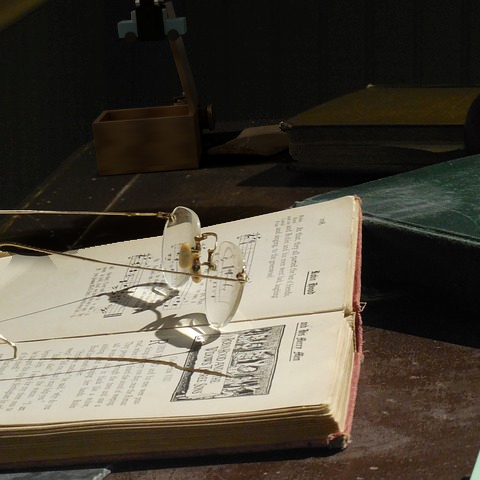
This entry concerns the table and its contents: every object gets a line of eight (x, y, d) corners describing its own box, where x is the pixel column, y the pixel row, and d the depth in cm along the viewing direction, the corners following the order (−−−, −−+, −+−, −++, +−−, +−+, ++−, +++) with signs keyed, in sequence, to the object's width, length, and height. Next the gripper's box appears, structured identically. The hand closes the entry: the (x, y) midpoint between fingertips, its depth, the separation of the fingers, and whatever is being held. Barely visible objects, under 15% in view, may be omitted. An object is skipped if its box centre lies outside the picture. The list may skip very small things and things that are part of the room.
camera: (212, 151, 152) (207, 101, 149) (170, 154, 152) (164, 104, 149) (220, 132, 167) (216, 87, 165) (182, 134, 167) (177, 89, 165)
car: (119, 44, 116) (116, 13, 115) (124, 40, 121) (121, 10, 120) (185, 40, 116) (182, 9, 115) (187, 37, 121) (185, 7, 120)
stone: (309, 143, 153) (307, 123, 152) (252, 163, 140) (251, 141, 139) (253, 140, 158) (252, 121, 157) (194, 159, 146) (192, 138, 145)
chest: (99, 175, 139) (91, 123, 137) (109, 159, 150) (103, 110, 148) (198, 168, 140) (193, 115, 138) (202, 152, 151) (197, 103, 149)
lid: (159, 6, 133) (165, 5, 133) (166, 2, 144) (171, 1, 144) (190, 113, 138) (195, 111, 138) (194, 101, 149) (199, 100, 149)
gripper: (116, -111, 121) (131, 35, 126) (95, -121, 105) (114, 46, 110) (175, -113, 121) (188, 32, 127) (163, -125, 105) (179, 43, 110)
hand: (153, 37), depth 118 cm, fingers closed on car, 4 cm apart
